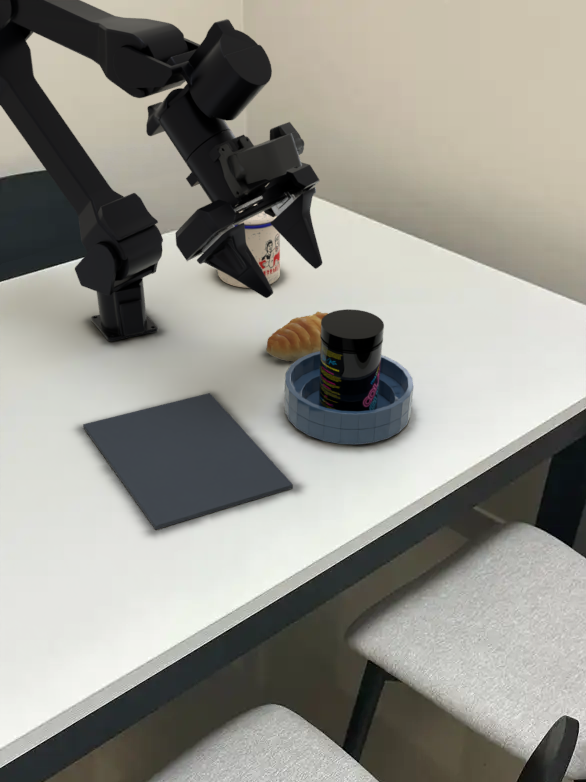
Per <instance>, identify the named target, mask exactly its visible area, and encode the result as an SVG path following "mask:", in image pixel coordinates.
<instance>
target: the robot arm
mask: <svg viewBox="0 0 586 782" xmlns="http://www.w3.org/2000/svg"><path fill="white" fill-rule="evenodd" d="M33 34H36V35H38V36H41V37H43V38H45V39H47V40H49V41H51V42H53V43H56V44H57V45H60V46H62V47H64V48H65V49H68V50H70V51H73V52H74V53H77V54H79V55H80V56H83V57H85V58H87V59H90V60H91V61H93V62H94V63H96V64H97V65H98V66H99V67H100V69H101V71H102V73H103V75H104V76H105V78H106V79H107V80H108V81H110V82H111V83H113V84H114V85H115V86H117V87H118V88H119V89H121V90H122V91H124V92H125V93H127V94H128V95H129V96H131V97H133V98H136V99H143V98H147V97H150V96H152V95H156V94H159V93H162V92H166V91H168V90H171V89H173V90H171V91H170V92H169V93H168V94H167V95H166V96H165V98H164V99H163V101H159V102H156V103H154V104H151V105H148V106H147V109H146V110H147V122H146V125H145V126H146V129H145V130H146V131H145V132H146V134H147V136H148V137H153V136H156V135H158V134H161V133H163V132H165V134H166V135H167V137H168V139H169V140H170V141H171V143H172V144H173V146H174V147H175V149H176V151H177V152H178V154H179V155H180V157H181V158H182V160H183V161H184V163H185V164H186V166H187V167H188V169H189V170H190V173H189V174H188V176H187V177H186V178H185V180H186V181H187V182H188V185H189V186H190V188H193V187H196V186H197V185H200V187H201V188H202V190H203V192H204V193H205V194H206V196H207V197H208V199H209V201H210V202H211V203H210V202H209V203H208V204H205V205H204V206H201V207H199V208H197V209H196V210H195V211H194V212H193V213H192V214H191V215H190V217H189V218H187V220H186V221H185V222H184V223H183V224H182V225H181V226H180V227H179V228H178V229H177V230H176V231H175V246H176V247H177V249H178V250H179V252H180V254H181V255H182V256H183V257H184V259H185V260H186V262H189V261H191V260H193V259H195V258H196V257H198V256H199V257H198V258H197V259H196V262H197V263H198V264H199V265H202V264H206V265H208V266H210V267H212V268H214V269H216V270H217V271H218V270H220V271H222V272H224V273H225V274H227V275H229V276H231V277H233V278H234V279H236V280H238V281H239V282H241V283H242V284H244V285H246V286H247V287H249V288H248V289H250V290H252V291H253V292H255V293H257V294H258V295H260V296H261V297H263V298H265V299H268V298H269V297H271V296H272V295H273V294H274V290H273V288H272V286H271V284H269V282H268V280H267V278H266V276H265V274H264V273H263V271H262V269H261V268H260V266H259V264H258V263H257V261H256V259H255V258H254V256H253V254H252V253H251V251H250V249H249V248H248V246H247V244H246V236H245V225H244V222H243V221H245V220H247V219H249V218H251V217H253V216H255V215H257V214H259V213H261V212H263V211H264V212H265V213H266V214H268V215H270V216H272V217H275V216H277V217H276V218H275V219H274V220H273V221H272V222H271V225H272V226H273V227H274V228H275V229H276V230H277V231H278V232H279V233H280V236H282V238H283V239H284V240H286V242H287V243H288V244H289V245H290V246H291V247H292V248H293V249H294V250H295V251H296V252H297V253H298V254H299V255H300V256H301V258H302V259H304V261H306V262H307V263H308V264H309V265H310V266H311V267H312V268H313V269H315V270H316V269H319V267H321V266H322V265H323V259H322V256H321V252H320V247H319V243H318V241H317V237H316V236H317V235H316V233H315V229H314V226H313V221H312V220H313V219H312V215H311V214H312V213H311V207H312V201H313V197H314V196H315V195H316V193H317V188H316V185H318V184H319V182H320V178H319V177H318V175H317V173H316V172H315V170H314V169H313V167H312V165H311V164H309V163H306V162H302V160H301V157H300V156H301V155H302V154H303V153H304V150H305V141H304V139H303V138H302V137H301V135H300V133H299V132H298V130H297V129H296V128H295V127H294V125H293V124H292V123H291V121H288V122H285V123H282V124H280V125H277V126H275V127H272V128H270V129H269V140H266V141H264V142H261V143H258V144H255V145H254V144H253V142H252V141H251V139H250V138H249V136H246V135H245V134H242V135H239V136H237V137H236V135H235V134H234V133H233V131H232V130H231V128H230V127H229V125H228V124H227V122H226V121H234V120H235V119H237V118H238V117H239V116H240V115H241V114H242V112H244V111H245V109H246V108H247V107H248V106H249V104H251V102H252V101H253V100H254V99H255V98H256V97H257V96H258V94H259V93H260V92H261V91H262V90H263V89H264V88H265V86H266V85H267V84H268V83H269V82H271V81H270V80H271V79H272V73H273V71H272V64H271V61H270V58H269V56H268V54H267V52H266V51H265V49H264V48H263V46H262V45H261V44H258V43H257V42H256V41H255V40H254V39H253V38H252V37H250V35H248V34H246V33H245V32H243V31H241V30H238V29H235V27H234V25H233V24H232V22H231V21H230V19H227V18H226V19H221V20H219V21H215V22H213V24H212V25H211V26H210V27H209V29H208V31H207V32H206V35H205V37H204V39H203V40H202V42H200V43H197V42H195V41H193V40H191V39H188V38H186V37H185V35H184V33H183V32H182V31H181V30H180V28H179V27H177V26H176V25H175V24H173V23H170V22H166V21H161V20H157V19H156V20H155V19H151V18H140V17H122V16H117V15H114V14H112V13H109V12H108V11H105V10H103V9H101V8H99V7H97V6H94V5H91V4H90V3H88V2H85V1H83V0H0V107H1V108H2V110H3V111H4V112H5V114H6V115H7V117H8V118H9V120H10V122H12V124H13V126H14V127H15V128H16V130H17V131H18V132H19V134H20V135H21V137H22V138H23V140H24V141H25V142H26V144H27V145H28V146H29V148H30V150H31V151H32V152H33V154H34V155H35V156H36V158H37V159H38V161H39V162H40V163H41V165H42V167H43V168H44V169H45V170H46V172H47V173H48V175H49V177H51V179H52V181H53V182H54V183H55V185H56V186H57V187H58V189H59V191H60V192H61V193H62V194H63V196H64V197H65V198H66V200H67V202H68V203H69V205H70V206H71V207H72V209H73V210H74V211H75V213H76V215H77V217H78V224H79V233H80V241H81V243H82V245H83V247H84V248H85V251H86V252H87V253H86V254H85V256H84V257H83V258H81V260H80V261H79V262H78V263H77V265H76V266H75V267H74V271H75V273H76V276H77V280H78V282H79V284H80V286H81V287H84V288H86V289H88V290H92V291H93V292H96V298H97V306H98V314H95V315H92V316H91V317H90V319H91V322H92V323H93V324H94V326H95V327H96V328H97V329H98V331H99V332H100V334H102V335H103V337H104V338H105V339H106V340H107V341H109V342H114V341H120V340H124V339H129V338H133V337H139V336H142V335H147V334H152V333H156V332H158V326H157V325H156V324H155V323H154V321H152V319H151V318H149V316H148V315H147V308H146V301H145V300H146V297H145V288H144V287H145V286H144V278H145V277H148V276H150V275H153V274H156V272H157V269H158V264H159V261H160V260H161V259H162V255H163V242H164V238H163V235H162V233H161V231H160V229H159V227H158V226H157V224H158V223H159V221H158V220H157V219H156V218H155V217H154V216H153V215H152V214H151V213H150V211H149V210H148V209H147V207H146V205H145V203H144V202H143V200H142V198H141V197H140V196H139V195H138V194H137V193H136V192H132V193H130V194H127V195H125V196H123V195H122V194H120V193H118V192H117V191H115V190H114V189H113V188H112V187H111V185H110V184H109V183H108V181H107V180H106V179H105V177H104V176H103V174H102V173H101V172H100V170H99V168H98V167H97V166H96V164H95V163H94V161H93V160H92V159H91V157H90V156H89V154H88V152H87V151H86V150H85V148H84V147H83V146H82V144H81V142H80V141H79V140H78V139H77V137H76V135H75V134H74V133H73V131H72V130H71V128H70V126H69V125H68V124H67V123H66V121H65V120H64V118H63V117H62V115H61V114H60V113H59V111H58V109H57V108H56V107H55V105H54V104H53V102H52V101H51V100H50V98H49V96H48V95H47V93H46V92H45V91H44V89H43V88H42V86H41V84H39V82H38V81H37V79H36V77H35V74H34V66H33V65H34V64H33V59H32V50H31V48H30V46H29V44H28V42H27V40H29V38H31V36H32V35H33ZM184 83H186V84H185V85H184V87H183V88H182V87H180V86H182V85H183V84H184ZM178 87H179V88H178ZM255 204H257V205H255ZM253 205H255V206H253ZM241 211H242V212H241ZM239 212H240V213H239ZM241 222H243V223H241ZM239 223H241V224H239ZM237 224H239V225H237ZM235 225H237V226H235Z"/></svg>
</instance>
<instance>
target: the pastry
mask: <svg viewBox="0 0 586 782" xmlns="http://www.w3.org/2000/svg"><path fill="white" fill-rule="evenodd" d="M327 314H329V312H322V311H316V312H315V313H313V314H312V315H311V314H309V315H304V316H299V317H297V316H296V317H294V318H292V319H291V320H290V321H289V322H288V323H286V324H284V325H283V326H282V327H280V328H278V329H277V330H276V331H274V332H272V334H271V335H270V336H269V337H268V338H267V341H266V342H267V344H266V350H265V351H266V353H268V354H269V355H270V356H272V357H274V358H276V359H279V360H281V361H286V362H290V361H291V362H295V361H297V360H298V359H299V358H301V357H304V356H306V355H308V354H310V353H314V352H318V351H320V349H321V338H320V334H321V320H322V318H323V317H324V316H325V315H327Z"/></svg>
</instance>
